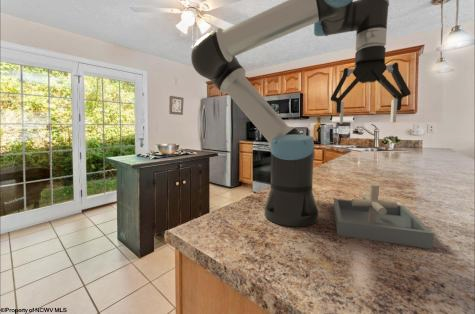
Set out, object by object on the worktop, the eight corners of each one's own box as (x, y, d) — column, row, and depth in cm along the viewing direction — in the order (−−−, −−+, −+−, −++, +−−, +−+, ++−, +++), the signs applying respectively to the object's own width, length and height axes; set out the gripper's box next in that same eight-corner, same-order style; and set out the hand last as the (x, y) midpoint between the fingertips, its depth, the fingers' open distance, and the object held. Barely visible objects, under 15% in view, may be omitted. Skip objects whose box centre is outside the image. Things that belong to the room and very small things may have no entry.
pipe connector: (404, 232, 51) (408, 191, 49) (358, 229, 53) (360, 190, 51) (384, 215, 60) (387, 180, 59) (346, 213, 62) (347, 179, 61)
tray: (337, 234, 51) (337, 221, 51) (333, 209, 68) (334, 198, 68) (432, 249, 45) (433, 233, 45) (402, 216, 62) (403, 205, 61)
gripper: (323, 51, 64) (321, 123, 67) (429, 36, 55) (422, 121, 57) (324, 59, 71) (322, 124, 73) (418, 46, 62) (412, 122, 64)
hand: (366, 123), depth 65 cm, fingers open, 13 cm apart
